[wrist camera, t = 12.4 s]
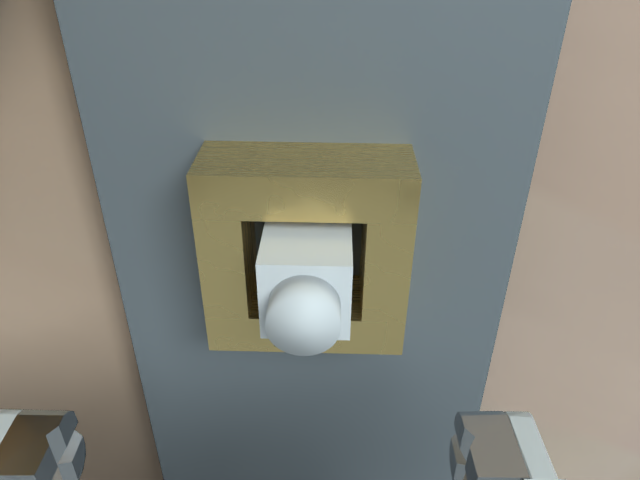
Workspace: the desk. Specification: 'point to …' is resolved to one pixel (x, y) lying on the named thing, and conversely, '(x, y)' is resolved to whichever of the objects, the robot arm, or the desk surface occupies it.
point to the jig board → (314, 100)
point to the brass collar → (304, 206)
